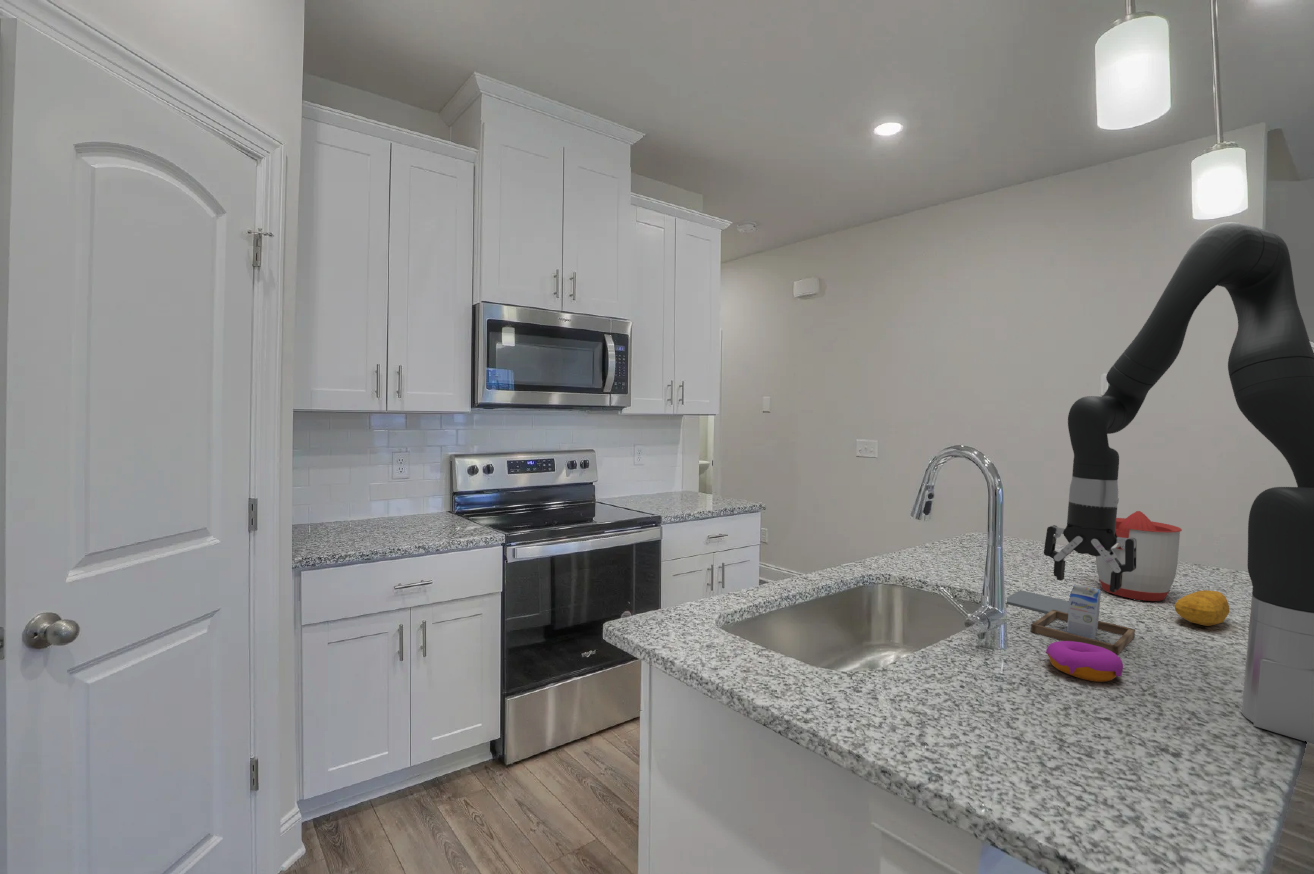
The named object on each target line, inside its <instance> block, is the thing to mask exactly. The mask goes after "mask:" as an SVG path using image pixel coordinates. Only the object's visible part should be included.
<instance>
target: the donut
mask: <svg viewBox="0 0 1314 874" xmlns="http://www.w3.org/2000/svg"><path fill="white" fill-rule="evenodd" d="M1045 654H1047V656H1048V658H1049V662H1050V663H1051V665H1052V666H1053V667H1054V668H1055V669H1056V670H1058V671H1061V672H1062V673H1065V674H1066V675H1070V676H1072V677H1074V678H1075V677H1076V678H1078V679H1082V680H1085V681H1089V682H1096V683H1097V682H1098V683H1101V682H1102V683H1104V682H1109V681H1112V680H1114V679H1116V677H1117V678H1118V677H1121V676H1122V675H1123V670H1124V664H1123V661H1122V659H1121V657H1119V656H1118V655H1116V654H1115V653H1113V652H1112V651H1110V650H1107V649H1105V648H1102V647H1099V646H1095V645H1091V644H1086V643H1081V642H1074V641H1062V640H1059V641H1054V642H1051V643H1050V644H1049V645H1048V646H1047V647H1046V651H1045Z"/></svg>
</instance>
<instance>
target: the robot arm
mask: <svg viewBox="0 0 1314 874" xmlns="http://www.w3.org/2000/svg"><path fill="white" fill-rule="evenodd" d="M1290 255H1291V254H1290V250H1289V248H1288V245H1287V243H1286V241H1285V240H1284V239H1283V238H1282V237H1281V236H1280V235H1278V234H1276V233H1275V232H1273V231H1270V230H1267V229H1263V228H1259V227H1257V226H1252V225H1249V224H1244V223H1241V222H1237V221H1225V222H1221V223H1217V224H1215V225H1213V226H1211V227H1209V228H1207V229H1206V230H1205V231H1204V232H1202V233H1201V234H1200V235H1199V236H1198V237H1197V238H1196V239H1195V240H1194V242H1193V243H1192V244H1191V245H1190V247H1188V250H1186V253H1185V254H1184V256H1183V257H1182V259H1181V261H1180V263H1179V264H1178V266H1177V268H1176V269H1175V271H1174V273H1173V275H1172V277H1171V279H1170V280H1169V282H1168V284H1166V287H1165V288H1164V290H1163V292H1162V294H1161V296H1160V297H1159V299H1158V300H1157V302H1156V304H1155V306H1154V308H1153V310H1152V312H1151V313H1150V315H1149V317H1148V318H1147V320H1146V321H1145V323H1144V324H1143V326H1142V327H1141V328H1140V330H1139V332H1138V333H1137V335H1136V336H1135V337H1134V338H1133V340H1132V341H1131V342H1130V344H1129V345H1128V346H1127V347H1126V349H1125V350H1124V351H1123V352H1122V353H1121V355H1120V356H1119V357H1118V358H1117V359H1116V361H1115V362H1114V363H1113V365H1111V367H1110V368H1109V370H1108V372H1107V373H1106V376H1105V378H1106V382H1107V383H1108V385H1109V386H1108V388H1107V389H1106V391H1105V392H1104V393H1103V395H1102V396H1095V395H1091V396H1090V395H1089V396H1083V397H1080V398H1078V399H1077V400H1075V402H1073V404H1072V405H1071V407H1070V409H1069V412H1068V415H1067V428H1068V435H1069V439H1070V445H1071V448H1072V451H1073V462H1072V475H1071V476H1072V477H1071V482H1070V485H1069V493H1068V507H1067V519H1066V527H1065V528H1063V527H1058V526H1057V525H1055V524H1053V525H1050V526H1048V527H1047V528H1046V536H1045V542H1044V547H1043V555H1044V556H1046V557H1049V558H1051V559H1052V560H1053V573H1052V574H1053V576H1054V577H1055V578H1056V580H1057V581H1061V582H1062V581H1063V580H1064V578H1065V569H1066V560H1065V558H1067V557H1068V556H1069V555H1070V554H1071V553H1073V552H1074V551H1075V552H1076V553H1077V554H1080V555H1089V556H1092V557H1095V558H1096V557H1097V556H1102V557H1103V559H1104V560H1105V561H1106V562H1107V563H1108V564H1109V566H1110V567H1111V568H1112V570H1113V571H1112V572H1111V580H1110V592H1116V591H1117V590H1119V589H1120V588H1121V586H1122V575H1123V572H1132V571H1133V570H1135V569H1136V547H1137V541H1136V539H1135V538H1133V537H1131V538H1121V537H1117V535H1116V532H1115V529H1116V518H1118V517H1117V514H1118V513H1117V512H1118V504H1119V499H1120V498H1119V484H1118V483H1119V481H1118V479H1119V469H1120V467H1119V466H1120V454H1119V452H1118V451H1117V450H1116V449H1114V448H1112V447H1110V445H1109V438H1108V436H1109V434H1115V433H1119V432H1121V431H1122V430H1124V429H1125V428H1126V427H1127V426H1129V425H1130V424H1131V423H1132V422H1133V420H1134V419H1135V418H1136V416H1137V415H1138V412H1139V411H1140V409H1141V408H1142V406H1143V404H1144V401H1145V399H1146V397H1147V395H1148V393H1149V391H1150V390H1151V389H1152V388H1153V387H1154V386H1155V385H1156V384H1157V382H1159V380H1160V379H1161V378H1162V377H1163V375H1164V374H1166V372H1168V370H1169V369H1170V367H1171V366H1172V365H1173V364H1174V362H1175V361H1176V359H1177V357H1178V355H1180V352H1181V350H1182V347H1183V344H1184V340H1185V337H1186V333H1187V330H1188V326H1189V324H1190V321H1191V319H1192V317H1193V315H1194V313H1195V311H1196V309H1198V306H1199V305H1200V304H1201V303H1202V301H1203V300H1204V299H1205V298H1206V297H1207V296H1208V295H1209V294H1210V293H1211V292H1212V291H1213V290H1214V289H1215V288H1216V287H1222V288H1225V290H1226V291H1227V292H1228V294H1229V296H1230V298H1231V301H1232V303H1233V307H1234V309H1235V313H1236V317H1237V326H1238V327H1237V332H1236V335H1235V338H1234V340H1233V343H1232V346H1231V348H1230V352H1229V355H1228V361H1227V371H1228V376H1229V377H1228V378H1229V381H1230V384H1231V385H1230V386H1231V388H1232V392H1233V394H1234V399H1235V402H1236V404H1237V407H1238V409H1239V411H1240V412H1241V413H1242V414H1243V416H1244V417H1245V419H1247V421H1248V422H1249V423H1250V424H1251V425H1252V426H1253V427H1254V428H1255V429H1256V430H1258V432H1259V433H1260V434H1261V435H1262V436H1263V437H1265V438H1266V440H1268V442H1270V443H1271V444H1272V445H1273V446H1274V447H1275V448H1276V450H1278V451H1279V452H1280V453H1281V455H1282V456H1283V457H1284V459H1285V460H1286V462H1287V464H1288V465H1289V467H1290V470H1291V472H1292V475H1293V476H1294V479H1295V483H1296V486H1275V487H1270V488H1267V489H1265V490H1263V491H1261V492H1260V493H1259V494H1258V495H1257V496H1256V497H1255V499H1254V501H1253V502H1252V504H1251V506H1250V510H1249V514H1248V523H1247V525H1248V526H1247V572H1248V575H1249V578H1250V582H1251V584H1252V591H1251V595H1252V596H1251V603H1250V615H1249V624H1248V634H1247V635H1248V636H1247V647H1246V656H1245V657H1246V658H1245V667H1244V668H1245V669H1244V678H1243V679H1244V680H1243V690H1242V691H1243V692H1242V703H1241V704H1242V705H1241V713H1242V715H1243V717H1245V718H1246V719H1247V720H1249V721H1250V722H1252V723H1253V726H1254V727H1256V728H1260V729H1263V730H1267V731H1270V732H1273V733H1276V734H1279V735H1283V736H1286V737H1289V738H1293V739H1296V740H1299V741H1303V742H1305V741H1306V743H1308V744H1312V745H1314V349H1313V347H1312V345H1311V344H1312V343H1311V341H1310V338H1309V334H1308V332H1307V328H1306V324H1305V322H1304V318H1303V316H1302V313H1301V310H1300V308H1299V305H1298V299H1297V295H1296V288H1295V283H1294V274H1293V268H1292V261H1291V256H1290ZM1062 535H1063V536H1064V538H1065V539H1066V540H1067V542H1068V543H1067V545H1065V546H1064V547H1063V548H1061V550H1060V551H1056V545H1057V539H1058V538H1060V537H1061V536H1062ZM1116 543H1119V544H1120V545H1121V548H1122V549H1123V550H1125V564H1121V562H1120V561H1119V560H1118V558H1117V556H1116V554H1115V553H1114V552H1113V550H1112V549H1111V548H1112V547H1113V546H1114V545H1115V544H1116ZM1109 552H1110V553H1109Z"/></svg>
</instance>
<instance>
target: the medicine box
mask: <svg viewBox="0 0 1314 874" xmlns="http://www.w3.org/2000/svg"><path fill="white" fill-rule="evenodd" d="M1101 595H1102V590H1101V589H1099V588H1095V587H1093V586H1092V587H1091V586H1086V585H1081V584H1074V585H1073V587H1072V588H1071V592H1070V593H1069V600H1068V601H1069V611H1068V622H1067V627H1066V632H1067V633H1071V634H1075V635H1079V636H1083V637H1086V638H1090V639H1094V640H1096V636H1097V631H1098V630H1099V629H1098V621H1100V620H1099V619H1100V618H1099V615H1100V607H1101V606H1100V605H1101Z"/></svg>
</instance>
